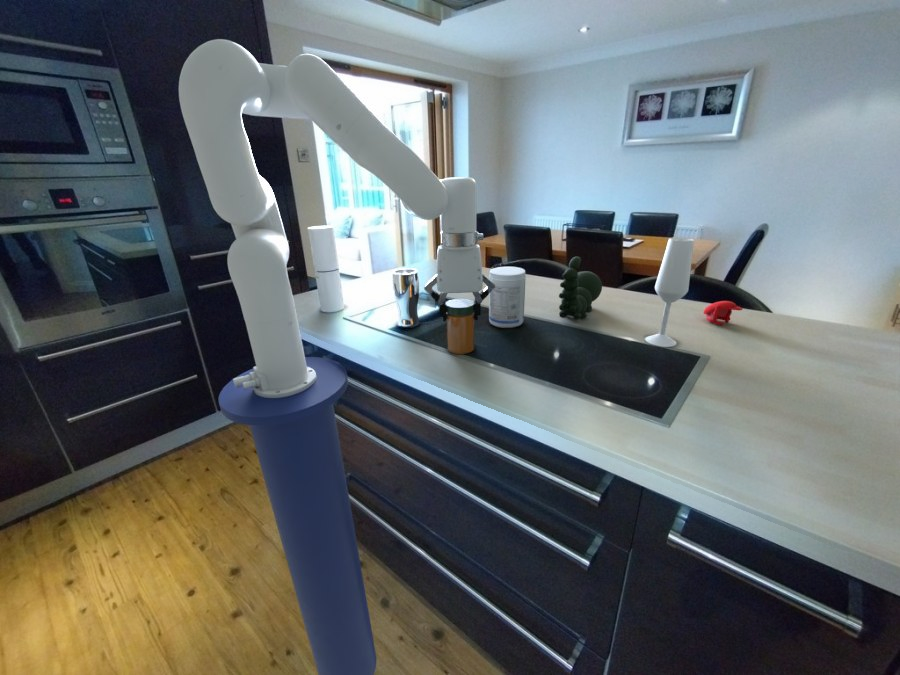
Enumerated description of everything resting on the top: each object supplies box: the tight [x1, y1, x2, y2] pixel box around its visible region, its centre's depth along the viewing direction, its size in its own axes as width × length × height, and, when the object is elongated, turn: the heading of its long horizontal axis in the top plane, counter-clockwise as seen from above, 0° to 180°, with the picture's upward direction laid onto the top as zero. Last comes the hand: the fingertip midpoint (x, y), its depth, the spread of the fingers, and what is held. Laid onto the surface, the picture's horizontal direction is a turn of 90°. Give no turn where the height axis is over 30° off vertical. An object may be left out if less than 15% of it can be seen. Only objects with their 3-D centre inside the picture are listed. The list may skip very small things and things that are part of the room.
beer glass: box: [392, 267, 421, 329], centre depth 105 cm, size 7×7×15 cm
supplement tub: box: [488, 266, 527, 329], centre depth 104 cm, size 10×10×15 cm
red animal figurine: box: [702, 300, 743, 326], centre depth 102 cm, size 8×6×6 cm
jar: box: [445, 312, 475, 355], centre depth 90 cm, size 6×6×11 cm
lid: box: [445, 298, 474, 316], centre depth 88 cm, size 7×7×2 cm
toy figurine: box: [558, 256, 603, 321], centre depth 109 cm, size 9×19×25 cm
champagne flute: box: [644, 237, 695, 348], centre depth 88 cm, size 7×7×24 cm
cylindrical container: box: [307, 225, 345, 313], centre depth 118 cm, size 7×7×25 cm
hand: (460, 318), depth 89 cm, fingers closed on lid, 6 cm apart
